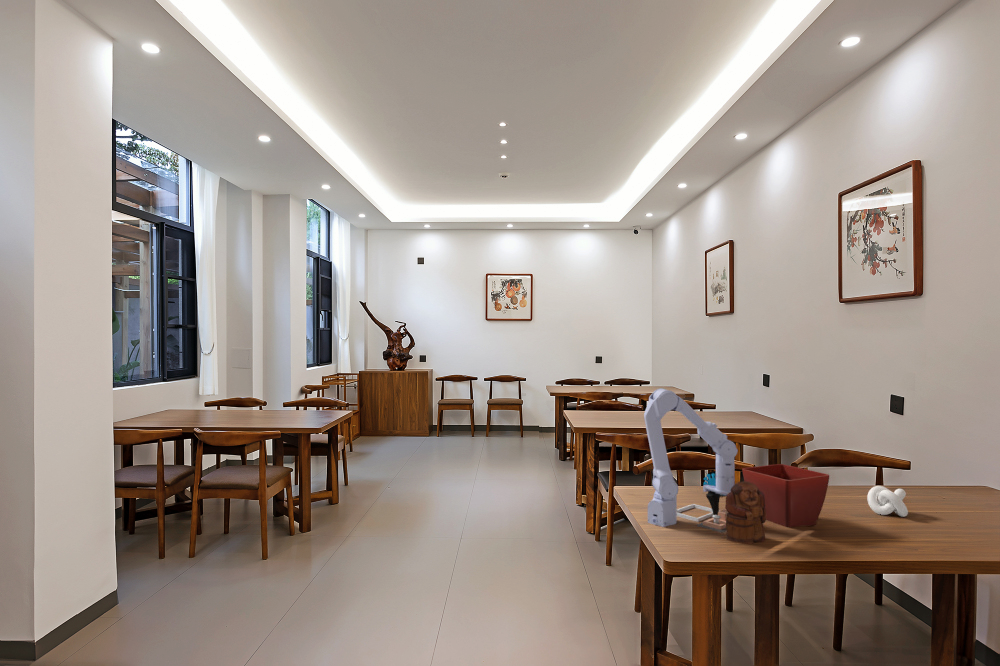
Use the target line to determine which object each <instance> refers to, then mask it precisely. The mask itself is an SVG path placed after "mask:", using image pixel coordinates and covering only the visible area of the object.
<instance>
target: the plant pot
mask: <svg viewBox="0 0 1000 666" xmlns="http://www.w3.org/2000/svg"><path fill="white" fill-rule="evenodd" d="M742 475H743V481H746V482H750V483H753V484H754V485H756V486H757V488H758V489H759V491H761V492H762V493H763V494H764V497H765V509H766V521H768V522H770V523H773V524H776V525H780V526H782V527H785V528H795V527H801V526H805V527H809V526H810V527H812V526H815V525H816V524H817V522H818V519H819V517H820V514H821V512H822V509H823V507H824V503H825V499H826V496H827V492H828V486H829V482H830V481H829V480H830V474H829V473H823V472H819V471H815V470H810V469H807V468H801V467H797V466H792V465H788V464H785V463H784V464H783V463H779V464H777V463H776V464H767V465H761V466H752V467H743V468H742Z"/></svg>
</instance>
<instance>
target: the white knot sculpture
mask: <svg viewBox="0 0 1000 666" xmlns="http://www.w3.org/2000/svg"><path fill="white" fill-rule="evenodd" d="M906 494H907V493H906V491H905V490H904V489H903V488H897V489H895V490H894V492H893V491H891V490H890V489H889V488H887V487H885V486H883V485H874V486H873V487H871V489H869V490H868V493H867V495H866V498H867V503H868V506H869V509H871V510H872V511H873V512H874V513H875V514H878V515H880V514H881V515H880V516H887V515H889V514H891V513H893V512H894V513H895V515H897V516H899V517H902V518H904V517H907V516H908V515H909V510H908V507H907V505H906V504H905V503H904V501H903V500H904V499H905V497H906Z"/></svg>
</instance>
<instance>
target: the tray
mask: <svg viewBox="0 0 1000 666" xmlns="http://www.w3.org/2000/svg"><path fill="white" fill-rule="evenodd" d="M694 508H695V509H699V510H702V511H706V512H709V513H707V514H703V515H701V516H699V517H697V516H696V517H695V516H691V515H687V514H685V513H682V512H685V511H688V510H691V509H694ZM719 511H721V510H720V509H719ZM678 517H679V518H682V519H686V520H690V521H694V522H698V523H699V522H703V521H705V520H708V519H711V518H713V511H712V507H708V506H705V505H704V506H703V505H699V504H695V503H692V504H689V505H685V506H683V507H680V508H677V518H678Z"/></svg>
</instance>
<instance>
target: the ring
mask: <svg viewBox="0 0 1000 666" xmlns="http://www.w3.org/2000/svg"><path fill="white" fill-rule="evenodd" d="M727 514H728V512H727V510H726V509H722V510H720V511H719V512H718V515H719V516H721V518H720V519H719V524H720V525H719V524H715V523H714V518H713V517H710V518H707V519H704V520H702V523H703V525H704V526H708V527H712V528H715V529H719V530H722V529H724V528H726V517H727Z"/></svg>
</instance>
